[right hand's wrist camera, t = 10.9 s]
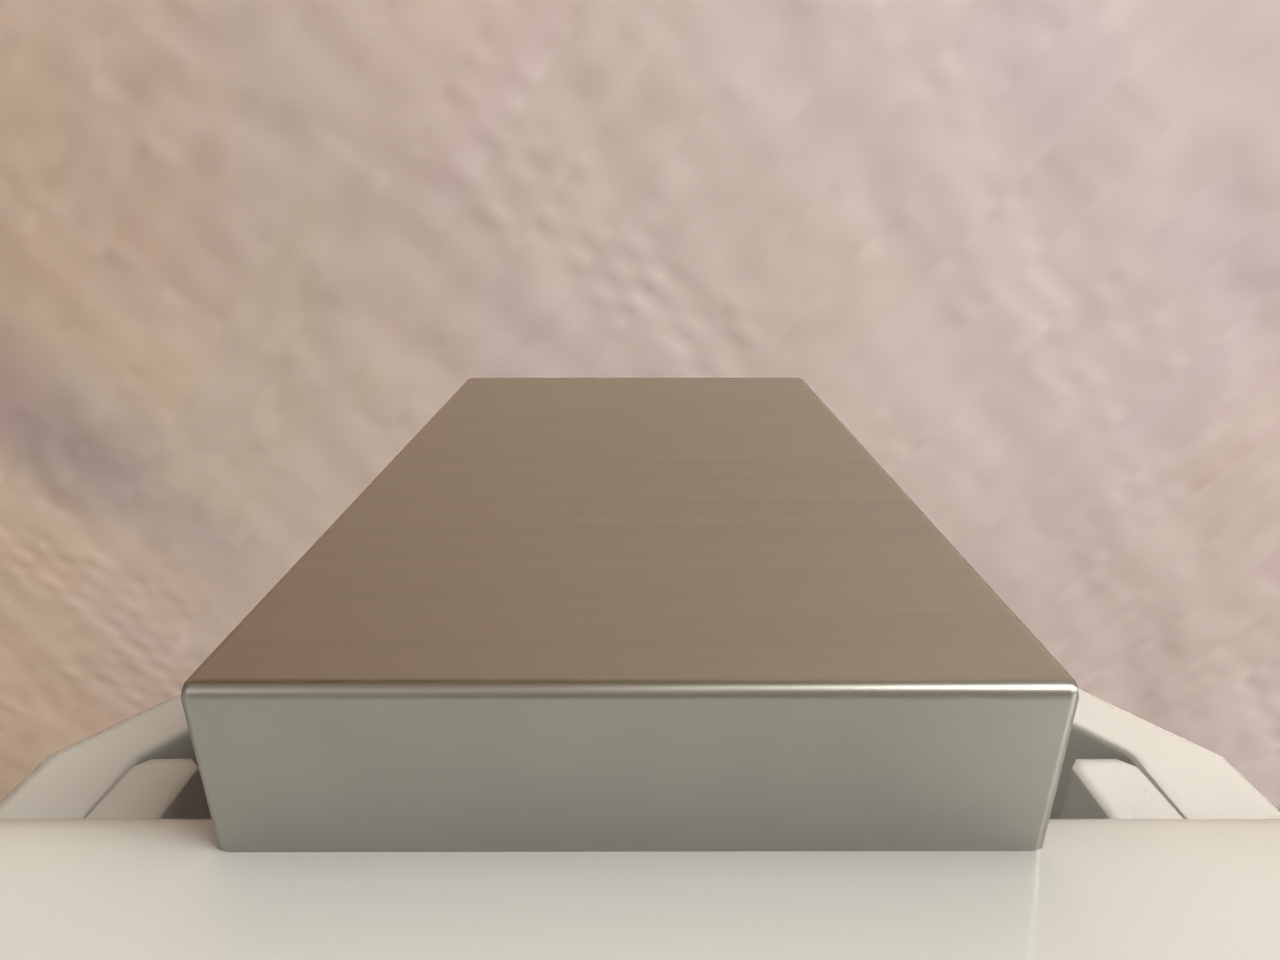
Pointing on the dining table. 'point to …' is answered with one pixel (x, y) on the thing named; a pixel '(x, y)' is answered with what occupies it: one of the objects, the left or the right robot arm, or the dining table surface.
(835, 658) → the bar
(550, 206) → the dining table surface
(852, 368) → the dining table surface
